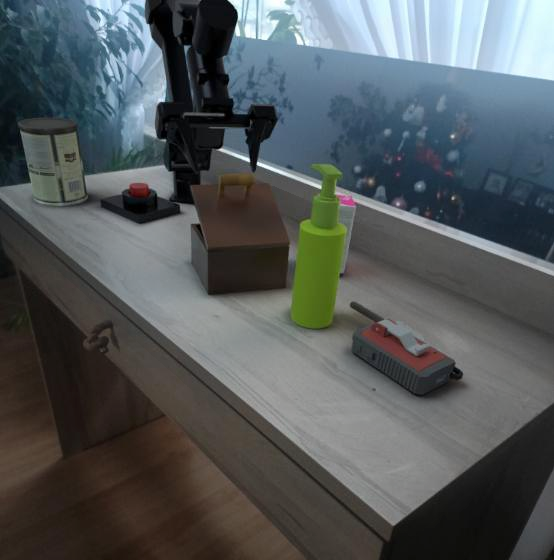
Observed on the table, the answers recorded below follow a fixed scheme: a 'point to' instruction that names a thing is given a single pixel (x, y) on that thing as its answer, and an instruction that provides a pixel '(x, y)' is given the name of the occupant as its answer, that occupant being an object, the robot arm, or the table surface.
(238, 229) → the lid
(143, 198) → the button box
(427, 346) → the walkie-talkie
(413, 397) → the table surface
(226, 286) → the chest
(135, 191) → the button
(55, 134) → the coffee can
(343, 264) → the supplement box
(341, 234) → the soap dispenser
